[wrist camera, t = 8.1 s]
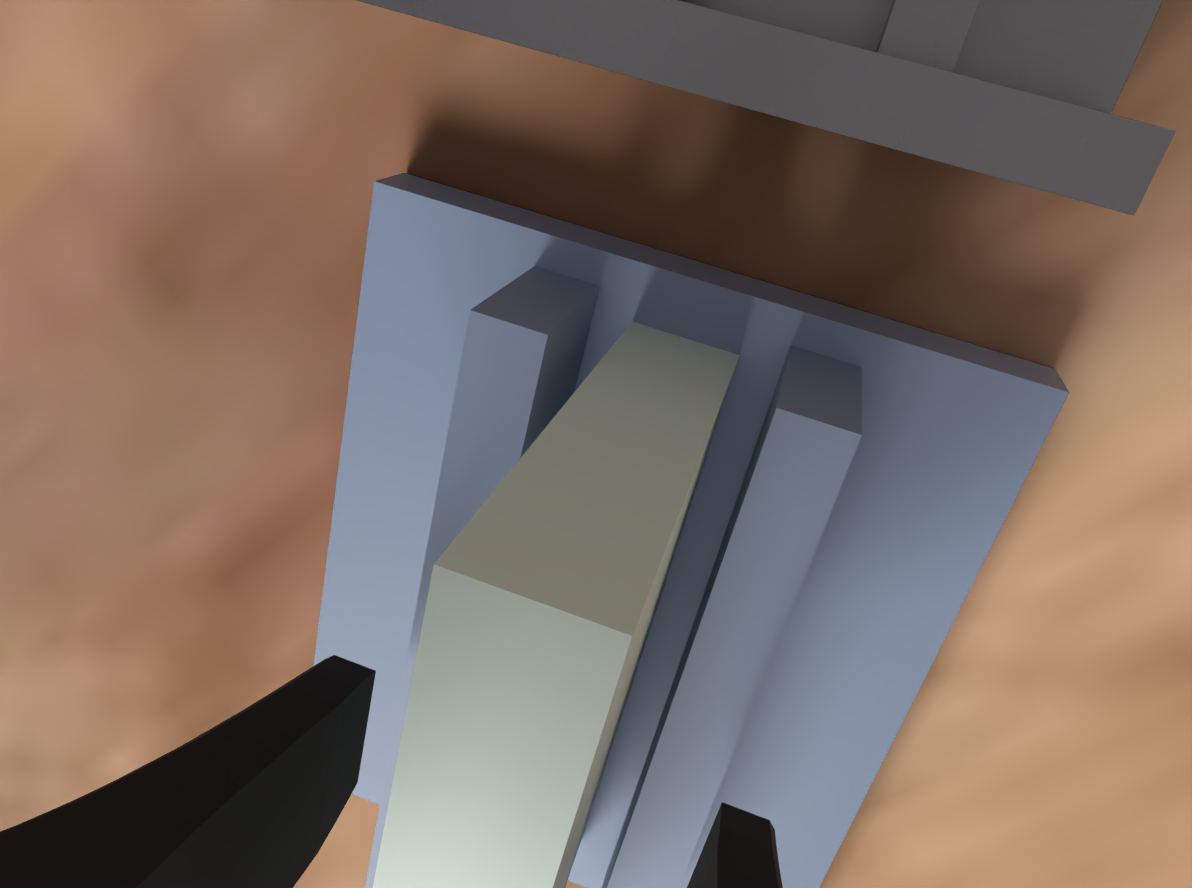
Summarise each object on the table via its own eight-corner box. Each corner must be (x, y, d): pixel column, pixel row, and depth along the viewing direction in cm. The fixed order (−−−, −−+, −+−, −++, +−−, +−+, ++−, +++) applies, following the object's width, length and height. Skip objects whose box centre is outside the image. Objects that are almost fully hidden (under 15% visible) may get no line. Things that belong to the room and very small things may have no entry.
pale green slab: (502, 808, 18) (308, 1223, 11) (633, 321, 13) (433, 564, 7) (581, 840, 17) (428, 1279, 11) (739, 355, 13) (632, 636, 7)
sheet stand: (325, 740, 20) (225, 870, 17) (404, 172, 14) (278, 208, 11) (783, 920, 18) (768, 1099, 15) (1054, 368, 13) (1116, 470, 10)
